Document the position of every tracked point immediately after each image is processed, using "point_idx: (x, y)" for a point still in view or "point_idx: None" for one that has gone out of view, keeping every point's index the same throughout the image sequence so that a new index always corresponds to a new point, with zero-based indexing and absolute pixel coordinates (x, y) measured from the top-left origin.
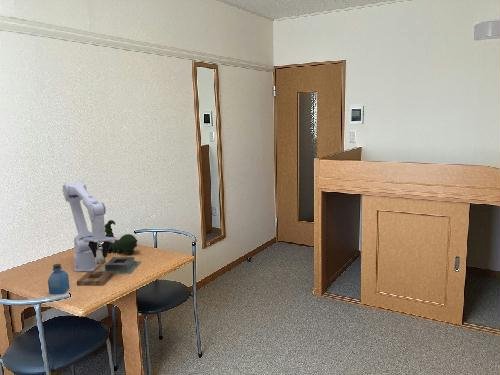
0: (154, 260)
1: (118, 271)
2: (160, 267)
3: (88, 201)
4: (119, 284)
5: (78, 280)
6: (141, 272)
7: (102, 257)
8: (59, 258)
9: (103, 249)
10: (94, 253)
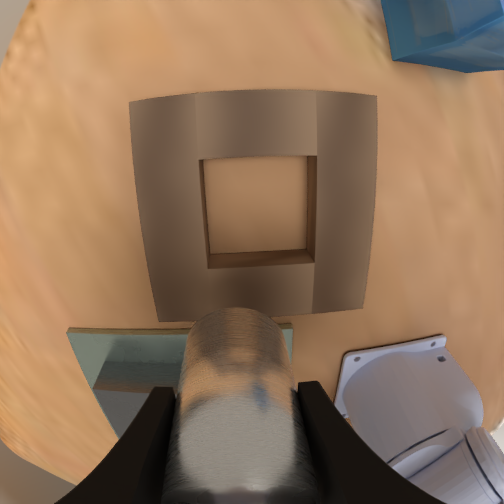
0: (87, 452)
1: (152, 351)
2: (8, 386)
3: None
4: (38, 147)
5: (369, 111)
6: (33, 342)
7: (185, 383)
8: (488, 415)
9: (122, 490)
10: (319, 426)
